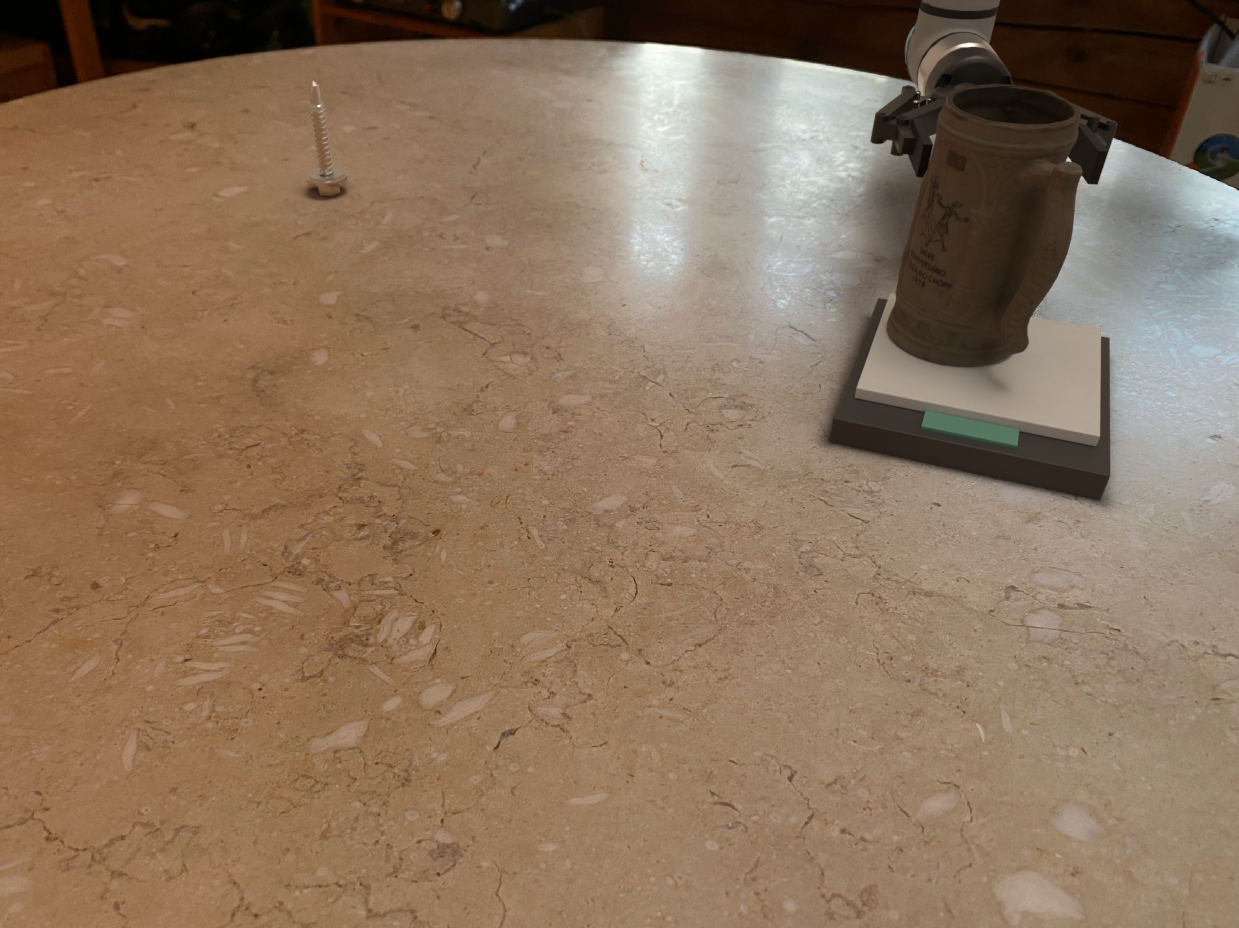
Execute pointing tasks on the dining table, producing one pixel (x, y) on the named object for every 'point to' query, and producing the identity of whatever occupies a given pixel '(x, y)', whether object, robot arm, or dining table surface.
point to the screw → (323, 149)
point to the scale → (987, 407)
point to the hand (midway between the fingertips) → (1010, 164)
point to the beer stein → (987, 225)
